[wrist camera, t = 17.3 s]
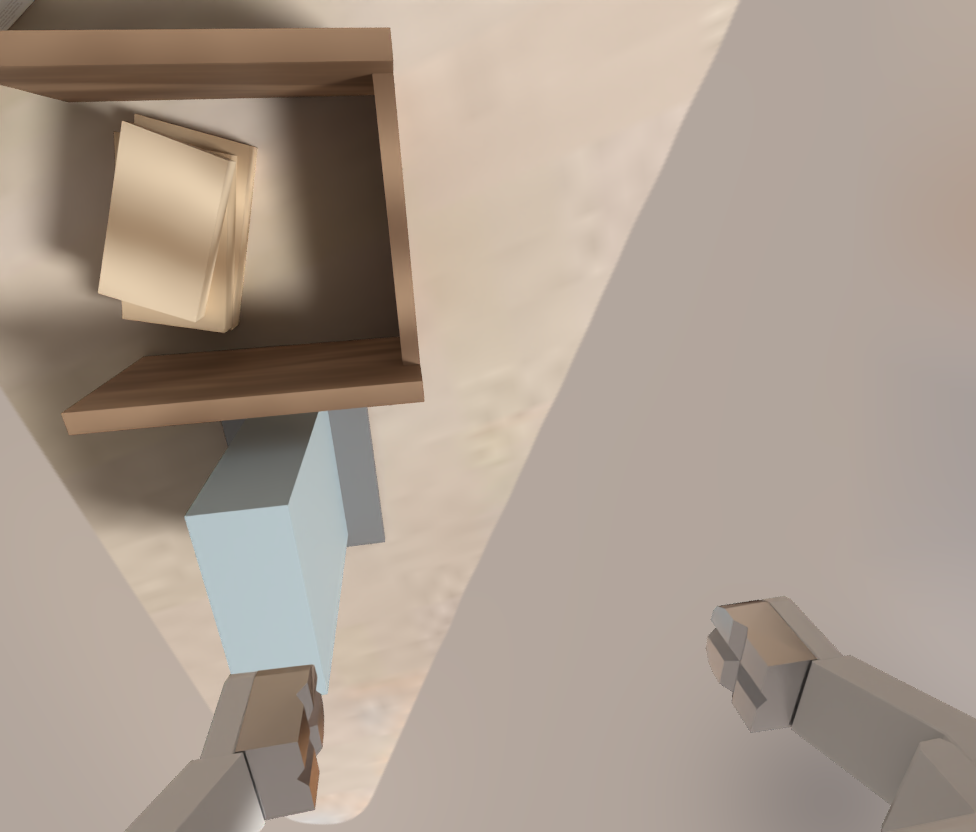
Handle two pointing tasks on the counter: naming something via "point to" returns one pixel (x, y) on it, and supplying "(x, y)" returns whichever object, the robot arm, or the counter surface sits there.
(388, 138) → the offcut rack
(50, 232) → the counter surface
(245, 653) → the pale blue upright block
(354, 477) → the rubber mat
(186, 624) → the counter surface
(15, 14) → the small box
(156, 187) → the offcut stack
